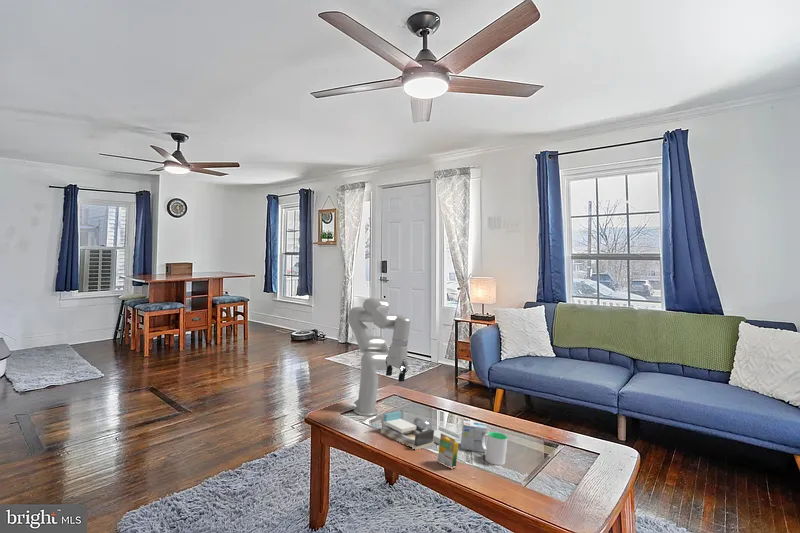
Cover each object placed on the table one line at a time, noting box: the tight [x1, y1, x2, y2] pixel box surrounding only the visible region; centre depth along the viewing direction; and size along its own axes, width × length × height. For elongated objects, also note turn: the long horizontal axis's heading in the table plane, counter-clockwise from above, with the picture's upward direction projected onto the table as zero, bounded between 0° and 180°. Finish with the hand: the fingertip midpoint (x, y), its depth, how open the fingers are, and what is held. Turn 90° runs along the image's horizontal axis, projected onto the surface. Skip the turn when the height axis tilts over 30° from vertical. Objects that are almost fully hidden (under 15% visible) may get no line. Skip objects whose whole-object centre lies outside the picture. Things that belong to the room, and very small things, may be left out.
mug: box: [482, 431, 508, 466], centre depth 167 cm, size 12×8×10 cm
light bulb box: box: [460, 419, 488, 453], centre depth 177 cm, size 11×7×11 cm, turn 84°
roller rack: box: [421, 425, 461, 445], centre depth 184 cm, size 12×14×2 cm
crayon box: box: [437, 433, 459, 467], centre depth 156 cm, size 7×3×12 cm, turn 43°
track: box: [380, 424, 435, 451], centre depth 178 cm, size 22×12×6 cm, turn 45°
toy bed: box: [383, 410, 417, 435], centre depth 182 cm, size 12×10×6 cm
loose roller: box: [412, 417, 432, 431], centre depth 193 cm, size 8×4×4 cm, turn 45°
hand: (394, 378), depth 189 cm, fingers open, 9 cm apart
